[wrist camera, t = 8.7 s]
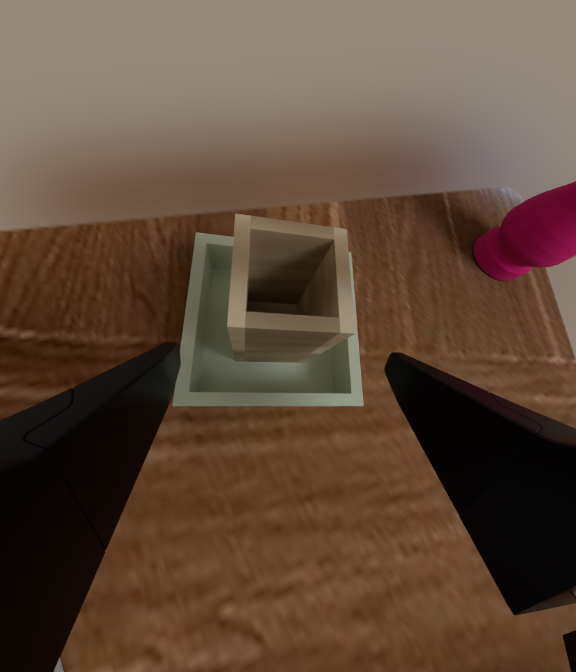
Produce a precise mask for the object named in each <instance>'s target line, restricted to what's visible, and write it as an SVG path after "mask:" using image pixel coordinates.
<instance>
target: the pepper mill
mask: <svg viewBox="0 0 576 672" xmlns="http://www.w3.org/2000/svg"><path fill="white" fill-rule="evenodd" d="M473 251H474V256H475V259H476V261H477V263H478V265H479V266H480V268H481V269H482V270H483V271H484V272H485V273H486V274H488V275H489V276H490V277H492V278H494V279H497V280H501V281H509V280H512V279H514V278H516V277H519V276H521V275H523V274H525V273H527V272H529V271H530V270H531V268H532V267H551V266H554V265H558V264H560V263H562V262H564V261H566V260H568V259H570V258H572V257H573V256H575V255H576V182H573V183H571V184H568V185H564V186H562V187H558V188H555V189H552V190H549V191H546V192H544V193H541V194H539V195H537V196H534V197H532V198H530V199H528V200H526V201H524V202H523V203H521V204H520V205H518V206H516V207H515V208H513V209H512V210H511V211H510V212H509V213H508V214H507V215H506V217H505V218H504V220H503V222H502V224H501V227H495V228H492V229H491V230H489V231H488V232H486V233H485V234H484V235H482V236H481V237H479V238H478V239H477V240H476V242H475V244H474V249H473Z"/></svg>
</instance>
